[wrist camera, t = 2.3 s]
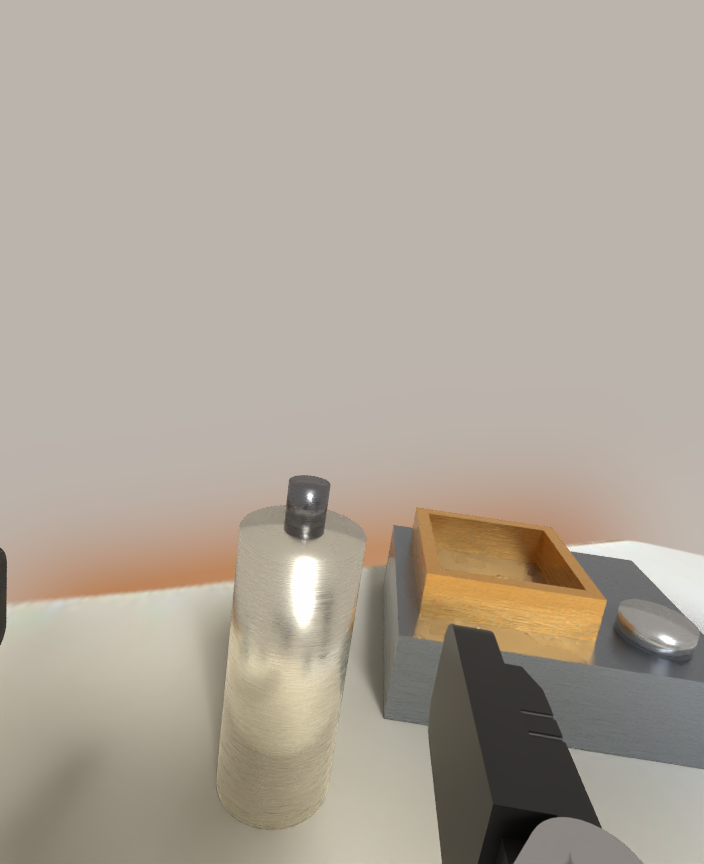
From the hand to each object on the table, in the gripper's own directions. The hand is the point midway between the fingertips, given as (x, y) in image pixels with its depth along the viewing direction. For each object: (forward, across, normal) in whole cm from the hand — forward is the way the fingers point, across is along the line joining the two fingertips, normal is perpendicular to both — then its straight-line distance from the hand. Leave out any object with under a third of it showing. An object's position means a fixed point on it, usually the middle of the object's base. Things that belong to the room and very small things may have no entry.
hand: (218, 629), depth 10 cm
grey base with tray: (+23, -14, +14) cm, 31 cm away
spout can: (+12, 0, +15) cm, 19 cm away
